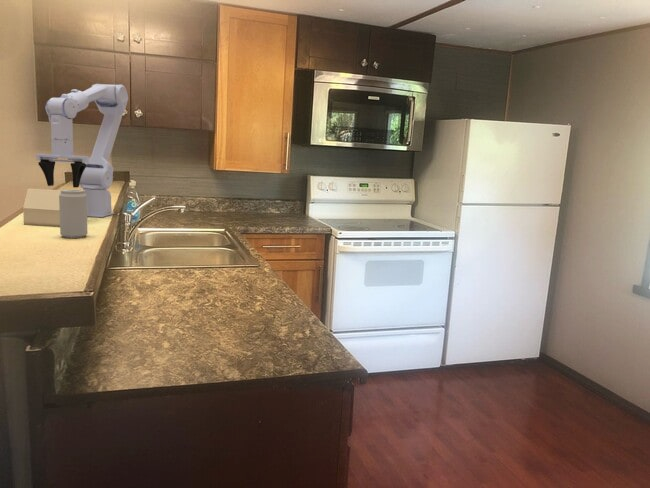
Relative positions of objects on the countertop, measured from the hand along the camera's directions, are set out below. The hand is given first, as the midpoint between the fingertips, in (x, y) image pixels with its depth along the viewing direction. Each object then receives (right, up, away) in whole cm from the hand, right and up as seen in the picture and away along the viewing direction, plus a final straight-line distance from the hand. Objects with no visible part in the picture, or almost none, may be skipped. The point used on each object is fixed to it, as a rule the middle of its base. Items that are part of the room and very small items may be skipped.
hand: (63, 186), depth 162 cm
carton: (-2, -11, -5) cm, 13 cm away
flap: (-2, -5, -8) cm, 9 cm away
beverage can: (+13, -15, -21) cm, 29 cm away
